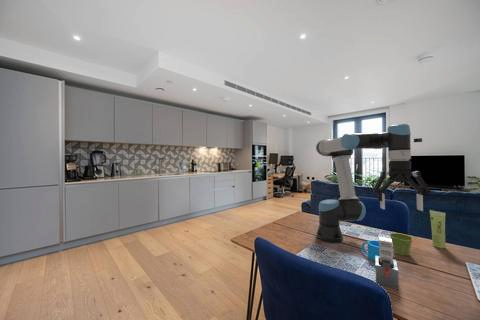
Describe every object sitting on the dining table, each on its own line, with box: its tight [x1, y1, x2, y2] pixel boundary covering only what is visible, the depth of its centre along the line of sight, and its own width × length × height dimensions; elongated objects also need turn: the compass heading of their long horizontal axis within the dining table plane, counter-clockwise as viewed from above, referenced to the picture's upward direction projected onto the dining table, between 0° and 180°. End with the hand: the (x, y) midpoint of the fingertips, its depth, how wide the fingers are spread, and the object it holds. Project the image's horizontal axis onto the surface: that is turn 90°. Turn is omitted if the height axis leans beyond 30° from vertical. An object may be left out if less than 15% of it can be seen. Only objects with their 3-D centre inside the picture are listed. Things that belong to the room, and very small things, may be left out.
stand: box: [375, 256, 400, 290], centre depth 76 cm, size 18×12×10 cm, turn 55°
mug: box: [361, 239, 380, 262], centre depth 95 cm, size 12×8×8 cm
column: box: [378, 236, 394, 268], centre depth 76 cm, size 4×6×16 cm
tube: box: [429, 209, 447, 249], centre depth 106 cm, size 6×5×20 cm
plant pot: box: [389, 232, 414, 257], centre depth 100 cm, size 9×9×9 cm
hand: (400, 209), depth 83 cm, fingers open, 13 cm apart
